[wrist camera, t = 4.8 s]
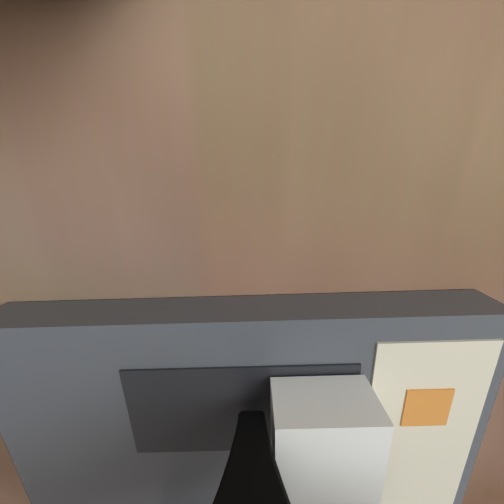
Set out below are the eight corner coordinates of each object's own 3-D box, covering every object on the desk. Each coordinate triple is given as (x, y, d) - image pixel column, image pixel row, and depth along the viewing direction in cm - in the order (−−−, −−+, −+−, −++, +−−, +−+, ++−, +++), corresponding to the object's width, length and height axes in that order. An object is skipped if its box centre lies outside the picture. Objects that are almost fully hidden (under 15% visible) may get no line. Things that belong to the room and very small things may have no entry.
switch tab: (270, 445, 10) (275, 507, 8) (270, 377, 9) (275, 429, 7) (355, 443, 10) (380, 505, 8) (364, 374, 9) (394, 426, 7)
